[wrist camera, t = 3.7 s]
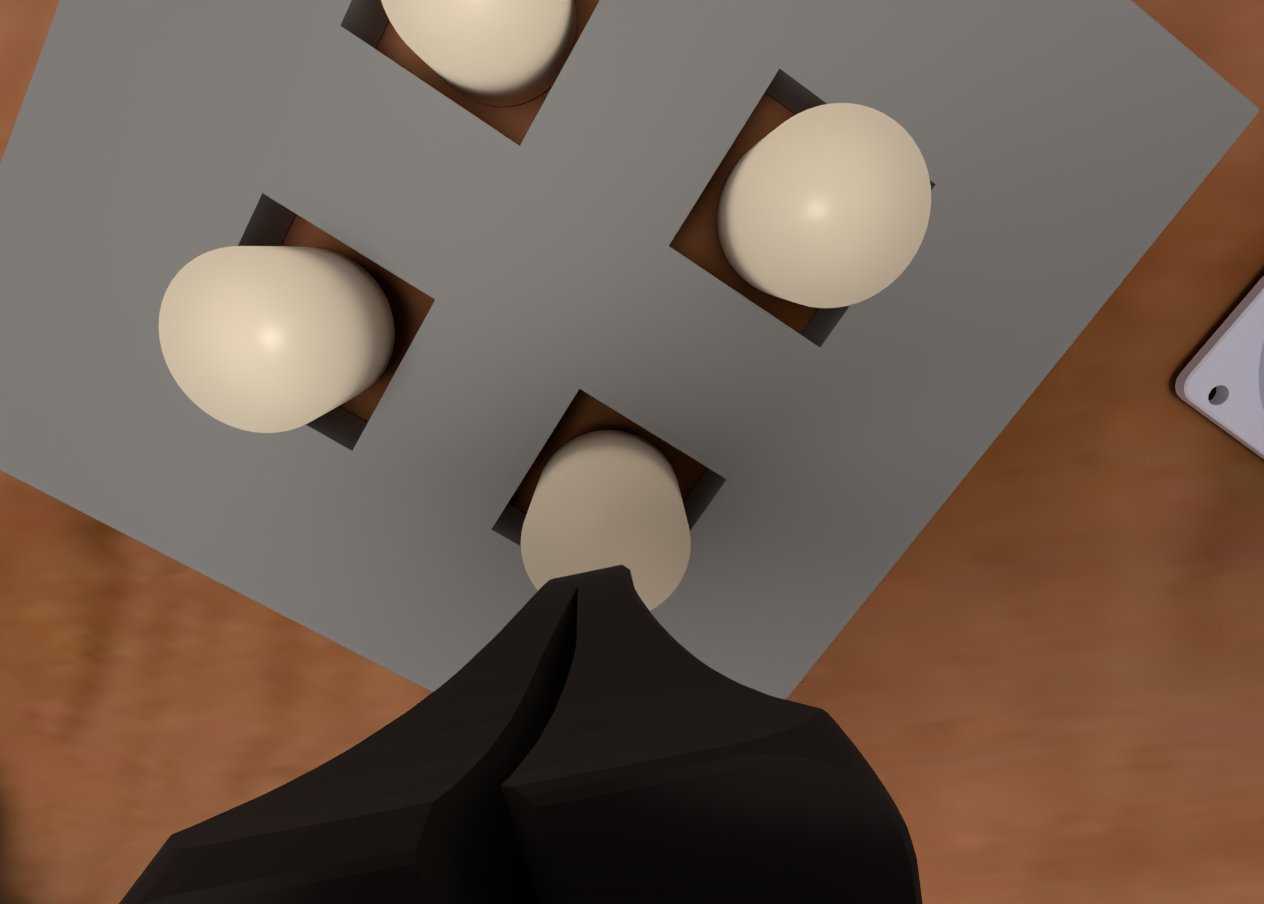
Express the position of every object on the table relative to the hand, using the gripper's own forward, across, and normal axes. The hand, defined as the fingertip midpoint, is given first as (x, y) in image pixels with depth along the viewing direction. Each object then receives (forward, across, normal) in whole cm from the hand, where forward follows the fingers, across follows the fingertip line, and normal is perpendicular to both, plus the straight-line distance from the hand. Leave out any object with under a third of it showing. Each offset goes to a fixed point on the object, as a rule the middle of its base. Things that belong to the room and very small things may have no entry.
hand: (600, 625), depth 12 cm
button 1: (+6, -6, -6) cm, 10 cm away
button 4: (+6, +6, -6) cm, 10 cm away
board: (+8, 0, -6) cm, 10 cm away
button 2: (+6, 0, 0) cm, 6 cm away
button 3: (+8, 0, -11) cm, 14 cm away
